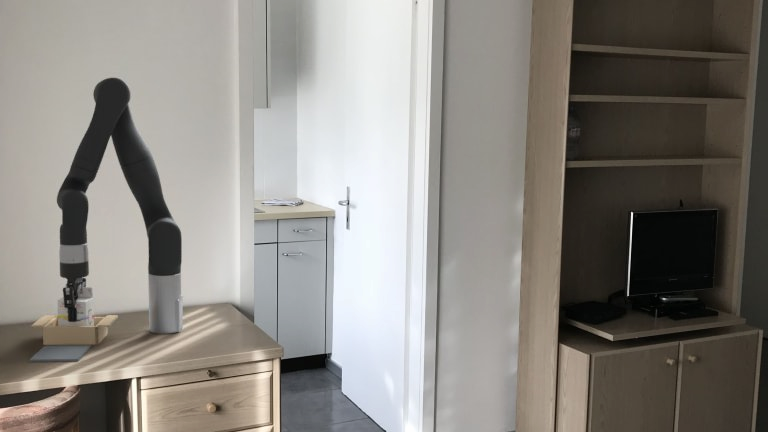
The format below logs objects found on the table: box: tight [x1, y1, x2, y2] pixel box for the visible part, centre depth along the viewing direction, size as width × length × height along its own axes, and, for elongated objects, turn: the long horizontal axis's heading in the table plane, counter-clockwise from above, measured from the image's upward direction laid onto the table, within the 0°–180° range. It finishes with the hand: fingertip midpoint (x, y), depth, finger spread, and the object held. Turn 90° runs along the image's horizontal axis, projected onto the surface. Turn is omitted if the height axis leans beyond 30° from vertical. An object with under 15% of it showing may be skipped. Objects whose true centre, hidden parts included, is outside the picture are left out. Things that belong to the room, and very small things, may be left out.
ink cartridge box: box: [57, 286, 95, 326], centre depth 221 cm, size 9×5×15 cm, turn 84°
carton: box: [31, 314, 119, 346], centre depth 222 cm, size 21×11×6 cm, turn 96°
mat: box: [29, 345, 92, 363], centre depth 208 cm, size 12×12×1 cm
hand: (75, 318), depth 221 cm, fingers closed on ink cartridge box, 5 cm apart
